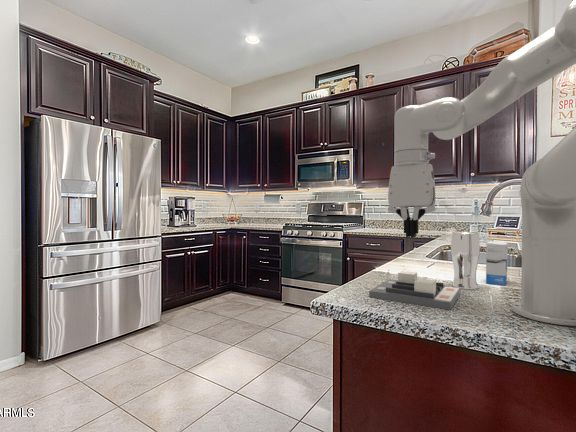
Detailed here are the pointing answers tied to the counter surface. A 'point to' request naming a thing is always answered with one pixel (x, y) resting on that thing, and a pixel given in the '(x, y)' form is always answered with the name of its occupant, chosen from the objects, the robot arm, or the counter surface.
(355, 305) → the counter surface
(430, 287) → the tab
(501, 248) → the ink box
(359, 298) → the counter surface
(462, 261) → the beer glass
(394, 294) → the switch panel
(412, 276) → the tab
